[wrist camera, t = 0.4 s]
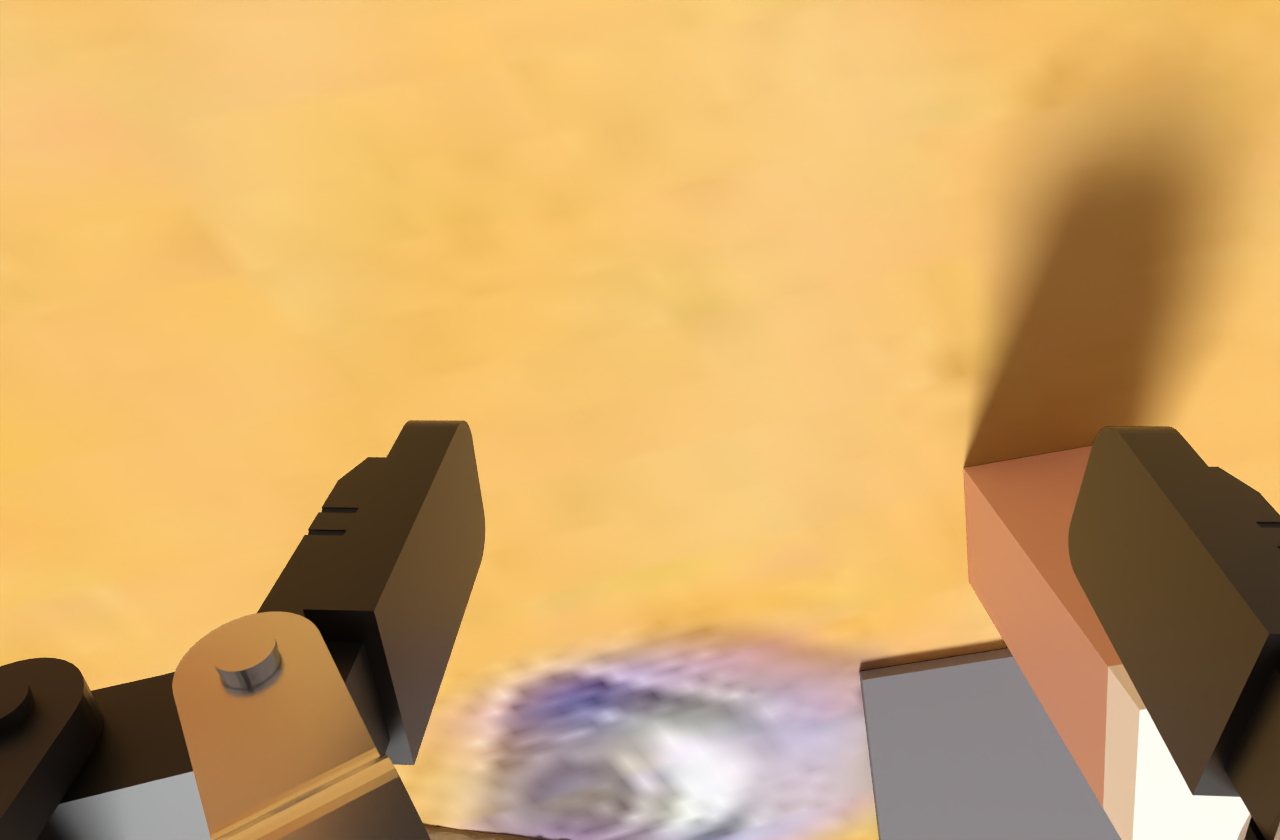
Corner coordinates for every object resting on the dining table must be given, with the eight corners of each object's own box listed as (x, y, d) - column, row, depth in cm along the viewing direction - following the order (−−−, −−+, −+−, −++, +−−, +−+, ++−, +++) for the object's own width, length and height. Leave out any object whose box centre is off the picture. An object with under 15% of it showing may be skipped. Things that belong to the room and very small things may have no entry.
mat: (859, 671, 35) (862, 680, 35) (1326, 598, 34) (1335, 606, 33) (886, 902, 41) (889, 912, 40) (1285, 847, 40) (1293, 857, 39)
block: (963, 467, 31) (1140, 709, 20) (1106, 443, 31) (1363, 676, 20) (968, 581, 33) (1131, 856, 22) (1102, 559, 33) (1334, 828, 22)
